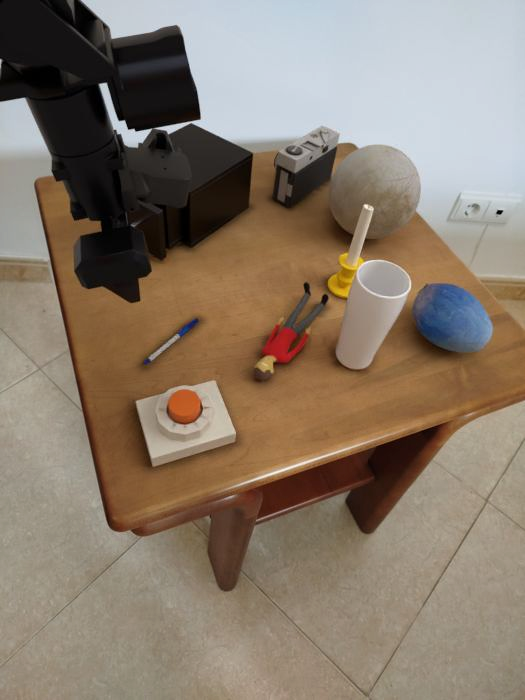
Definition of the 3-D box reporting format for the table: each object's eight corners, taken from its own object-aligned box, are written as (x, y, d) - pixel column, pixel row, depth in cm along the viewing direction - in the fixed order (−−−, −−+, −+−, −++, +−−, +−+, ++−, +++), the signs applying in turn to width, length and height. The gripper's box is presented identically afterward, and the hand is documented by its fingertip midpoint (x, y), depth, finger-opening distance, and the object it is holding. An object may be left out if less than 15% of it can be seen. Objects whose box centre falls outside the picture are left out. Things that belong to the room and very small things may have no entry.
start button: (173, 427, 55) (172, 419, 53) (165, 401, 57) (164, 393, 55) (204, 418, 56) (204, 410, 54) (195, 394, 58) (195, 385, 56)
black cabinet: (191, 248, 80) (189, 191, 71) (131, 213, 84) (124, 156, 76) (248, 207, 88) (253, 152, 80) (192, 177, 92) (191, 122, 84)
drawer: (142, 274, 74) (136, 226, 67) (86, 238, 77) (75, 189, 71) (220, 219, 84) (222, 173, 77) (167, 190, 88) (164, 144, 81)
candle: (341, 271, 80) (366, 187, 68) (366, 288, 78) (396, 205, 65) (320, 285, 77) (342, 200, 65) (345, 303, 75) (373, 220, 63)
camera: (298, 163, 99) (306, 114, 91) (331, 180, 96) (343, 131, 89) (255, 190, 92) (260, 139, 84) (290, 209, 89) (298, 158, 81)
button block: (152, 467, 55) (149, 451, 52) (137, 410, 60) (133, 392, 57) (235, 442, 58) (237, 425, 55) (214, 389, 63) (215, 371, 60)
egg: (424, 246, 69) (515, 309, 64) (418, 275, 77) (499, 334, 71) (382, 287, 68) (471, 355, 63) (380, 313, 76) (459, 375, 71)
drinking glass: (385, 368, 68) (423, 291, 56) (343, 381, 66) (373, 303, 54) (362, 333, 71) (393, 254, 60) (321, 344, 69) (345, 264, 58)
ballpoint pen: (194, 319, 70) (194, 314, 70) (199, 322, 70) (199, 317, 69) (143, 364, 65) (142, 359, 64) (148, 367, 64) (147, 363, 63)
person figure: (332, 286, 71) (271, 368, 60) (334, 307, 73) (276, 389, 63) (301, 281, 73) (237, 358, 63) (304, 301, 76) (243, 379, 65)
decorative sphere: (392, 206, 93) (419, 129, 81) (413, 258, 84) (447, 180, 72) (315, 202, 91) (332, 124, 79) (328, 255, 82) (348, 175, 70)
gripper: (191, 182, 36) (219, 317, 49) (161, 73, 47) (190, 206, 60) (41, 212, 35) (108, 342, 48) (46, 94, 46) (100, 225, 59)
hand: (131, 271), depth 54 cm, fingers open, 9 cm apart
